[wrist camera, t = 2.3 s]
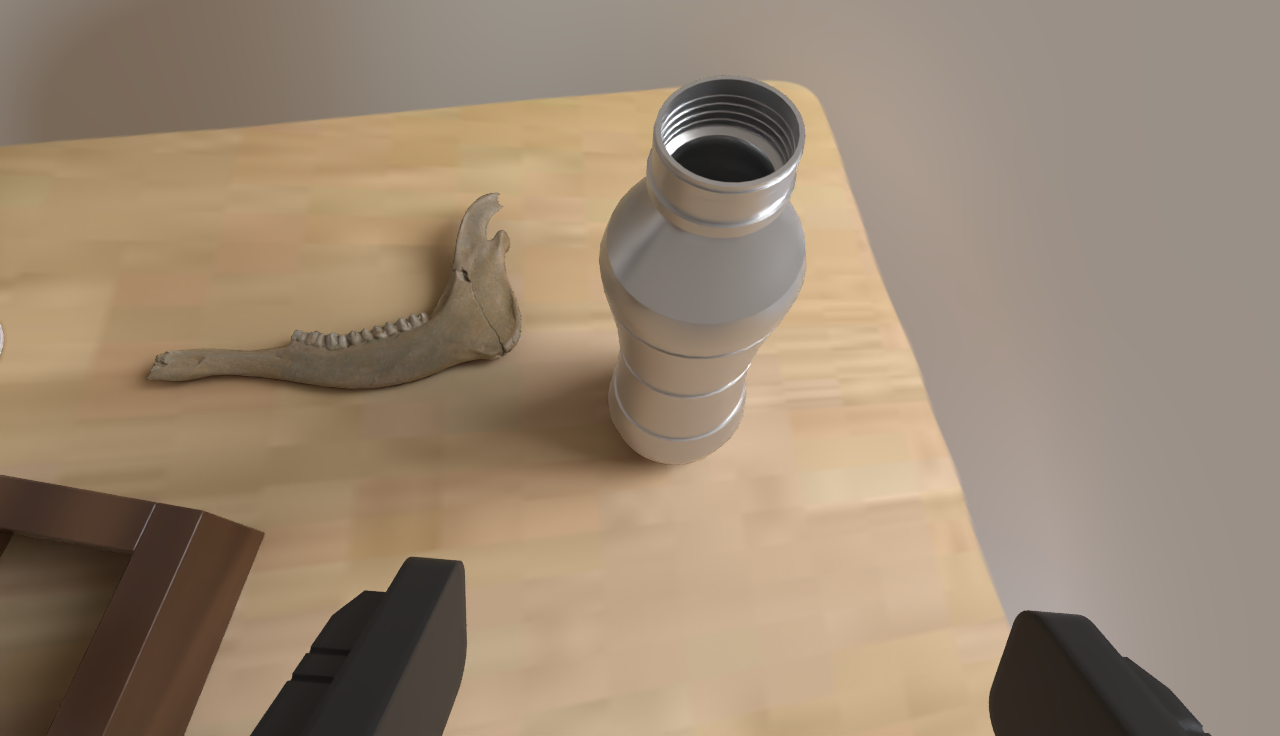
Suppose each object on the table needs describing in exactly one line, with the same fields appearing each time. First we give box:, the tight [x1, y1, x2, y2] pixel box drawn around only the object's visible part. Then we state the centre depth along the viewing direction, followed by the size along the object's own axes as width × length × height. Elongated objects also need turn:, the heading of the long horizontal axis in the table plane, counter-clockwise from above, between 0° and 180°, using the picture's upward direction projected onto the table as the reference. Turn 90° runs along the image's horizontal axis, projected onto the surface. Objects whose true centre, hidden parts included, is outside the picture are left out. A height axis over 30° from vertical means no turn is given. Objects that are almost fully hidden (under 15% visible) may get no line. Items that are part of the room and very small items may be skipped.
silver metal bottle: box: [599, 75, 806, 465], centre depth 25 cm, size 6×7×20 cm
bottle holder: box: [0, 475, 264, 736], centre depth 26 cm, size 14×14×5 cm
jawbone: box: [146, 193, 521, 389], centre depth 34 cm, size 9×20×2 cm, turn 123°
